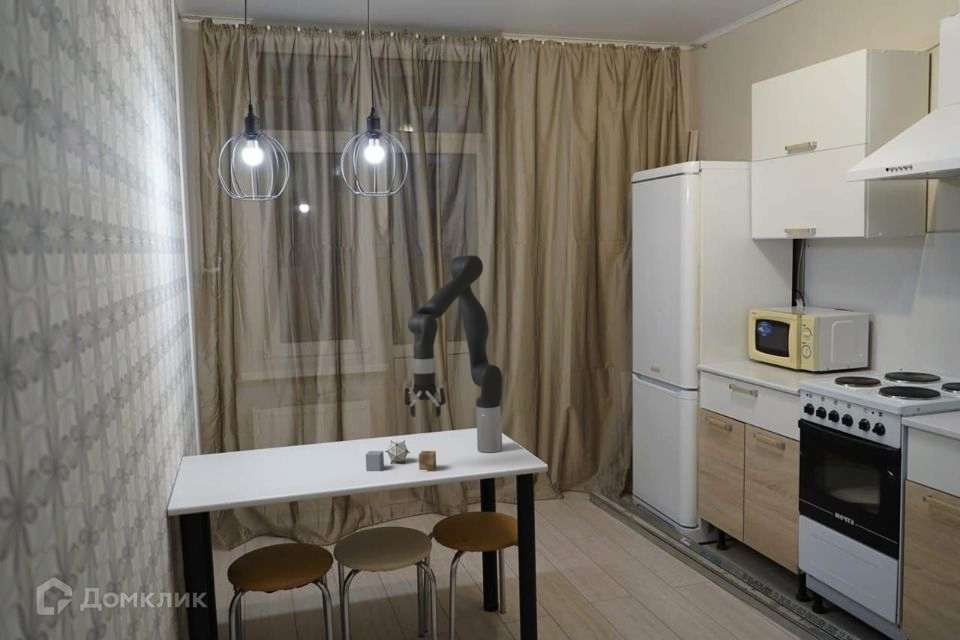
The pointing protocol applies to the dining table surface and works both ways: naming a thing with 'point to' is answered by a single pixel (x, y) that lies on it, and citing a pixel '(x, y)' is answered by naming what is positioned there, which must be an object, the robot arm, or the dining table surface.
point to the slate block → (374, 460)
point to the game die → (397, 451)
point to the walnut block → (427, 460)
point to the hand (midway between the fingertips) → (425, 416)
